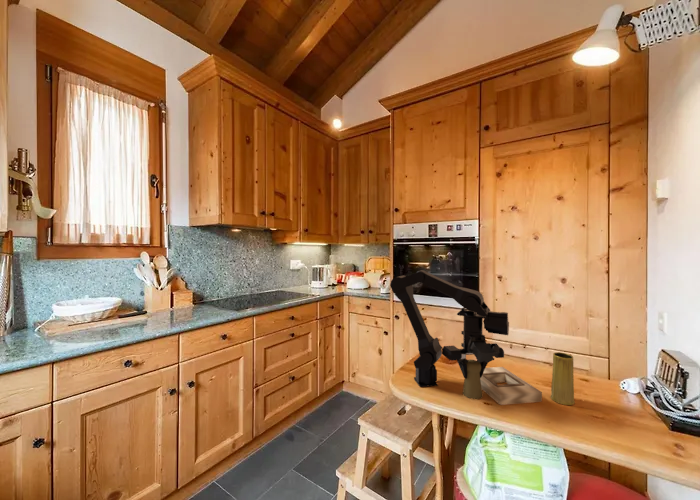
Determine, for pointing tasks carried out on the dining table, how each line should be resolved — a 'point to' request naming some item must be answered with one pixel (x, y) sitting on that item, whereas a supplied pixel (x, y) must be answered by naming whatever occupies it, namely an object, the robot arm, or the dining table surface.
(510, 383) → the socket board
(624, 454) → the dining table surface
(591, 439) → the dining table surface
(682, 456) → the dining table surface
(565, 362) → the vase
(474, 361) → the olive tall rounded piece
